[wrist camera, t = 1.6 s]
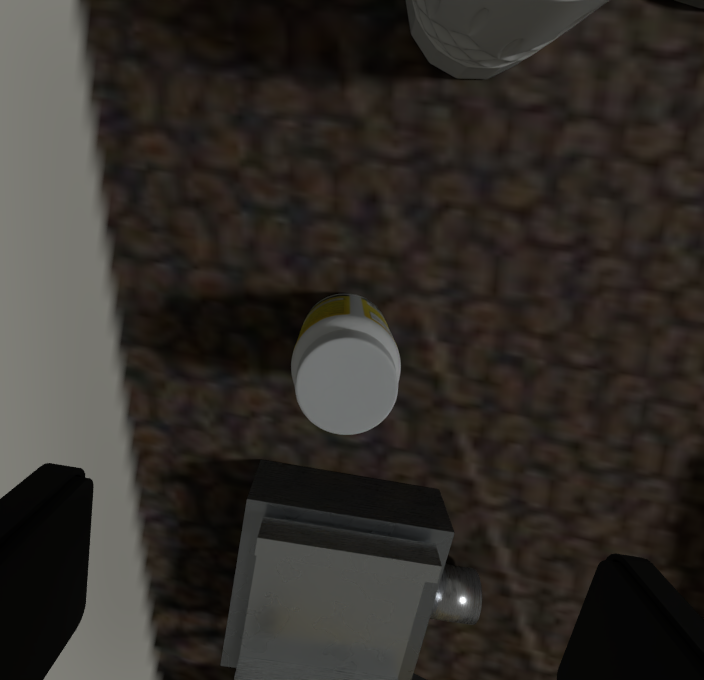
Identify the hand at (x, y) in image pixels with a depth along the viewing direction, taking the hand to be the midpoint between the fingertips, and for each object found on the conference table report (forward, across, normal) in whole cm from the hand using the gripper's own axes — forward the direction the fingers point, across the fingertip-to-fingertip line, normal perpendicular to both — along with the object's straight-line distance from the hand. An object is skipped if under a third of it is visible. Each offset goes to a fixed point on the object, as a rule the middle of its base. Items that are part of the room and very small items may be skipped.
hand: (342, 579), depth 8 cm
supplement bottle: (+18, 0, 0) cm, 18 cm away
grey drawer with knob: (+18, -4, +14) cm, 23 cm away
